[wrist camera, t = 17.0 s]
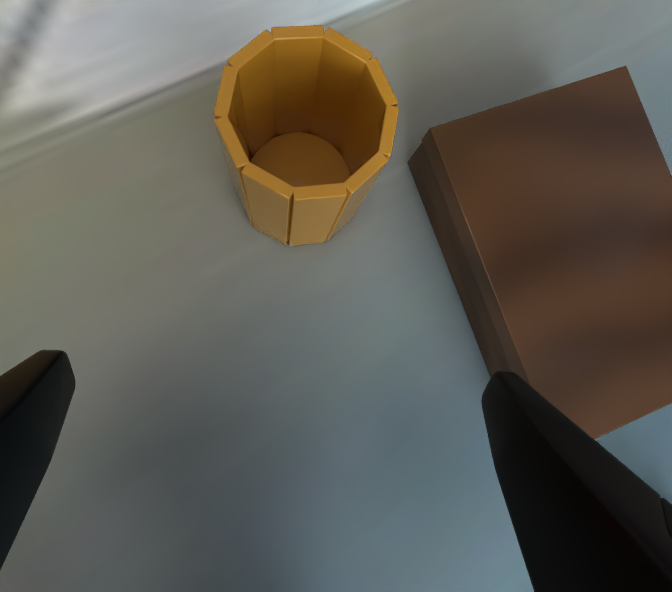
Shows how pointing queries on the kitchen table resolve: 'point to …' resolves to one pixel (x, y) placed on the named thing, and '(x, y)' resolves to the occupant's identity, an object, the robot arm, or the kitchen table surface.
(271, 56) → the cup
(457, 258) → the brown wooden board
